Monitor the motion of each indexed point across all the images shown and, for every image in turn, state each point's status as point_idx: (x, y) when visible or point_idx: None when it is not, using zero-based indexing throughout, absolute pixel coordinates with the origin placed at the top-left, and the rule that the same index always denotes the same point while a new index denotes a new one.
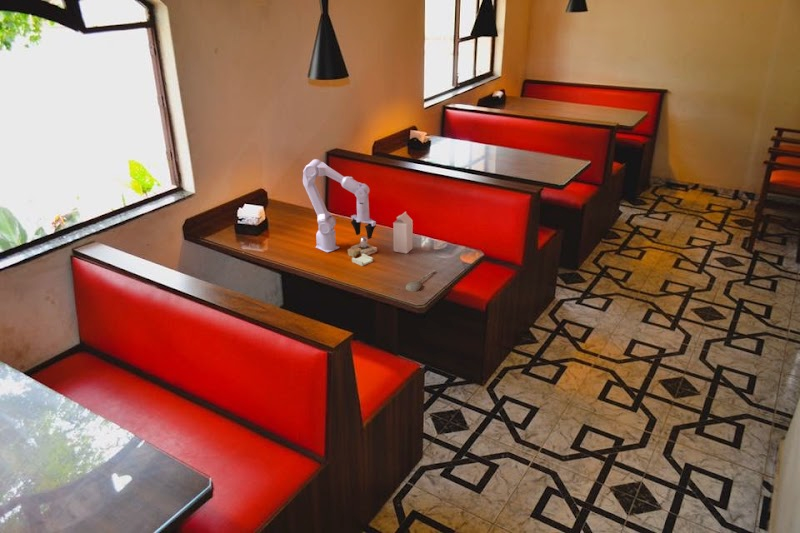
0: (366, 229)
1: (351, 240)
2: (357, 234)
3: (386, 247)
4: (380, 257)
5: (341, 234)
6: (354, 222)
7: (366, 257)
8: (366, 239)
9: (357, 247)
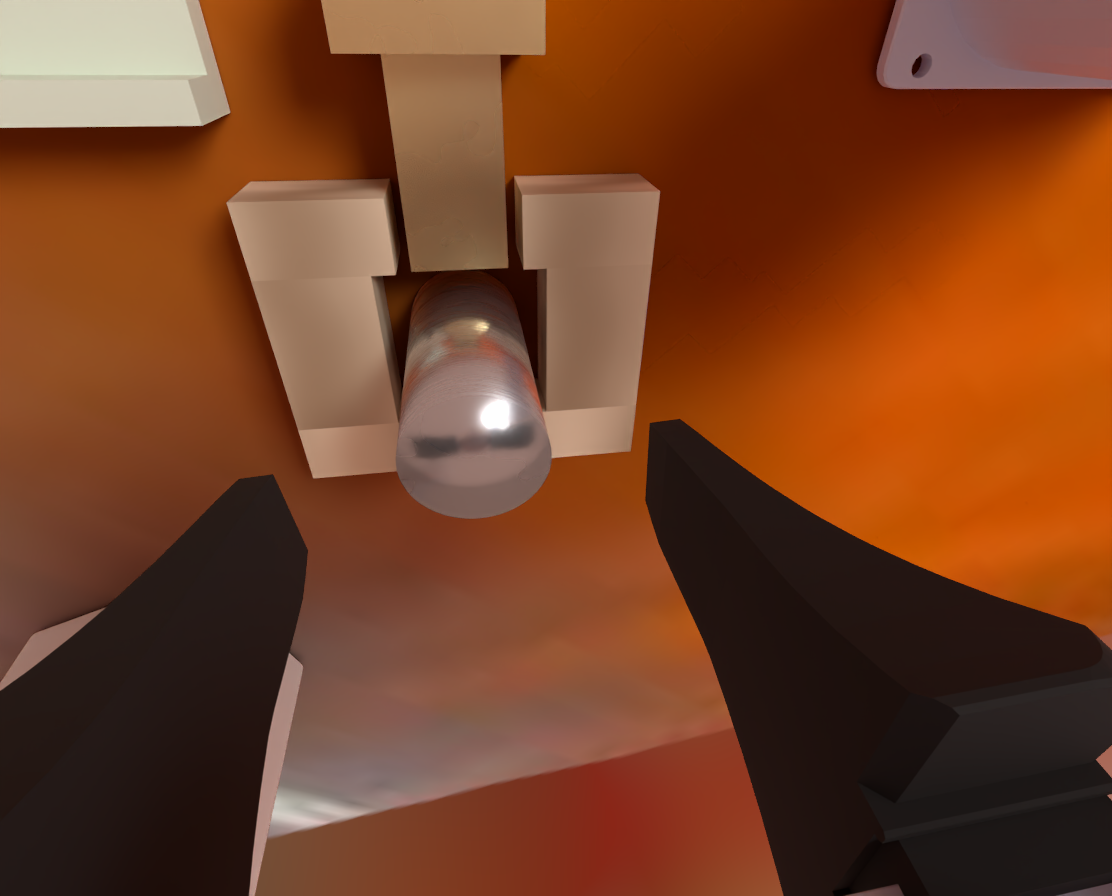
0: (54, 737)
1: (852, 413)
2: (652, 443)
3: (368, 572)
4: (65, 350)
5: (1048, 431)
6: (926, 756)
7: (15, 75)
8: (400, 466)
9: (543, 262)
